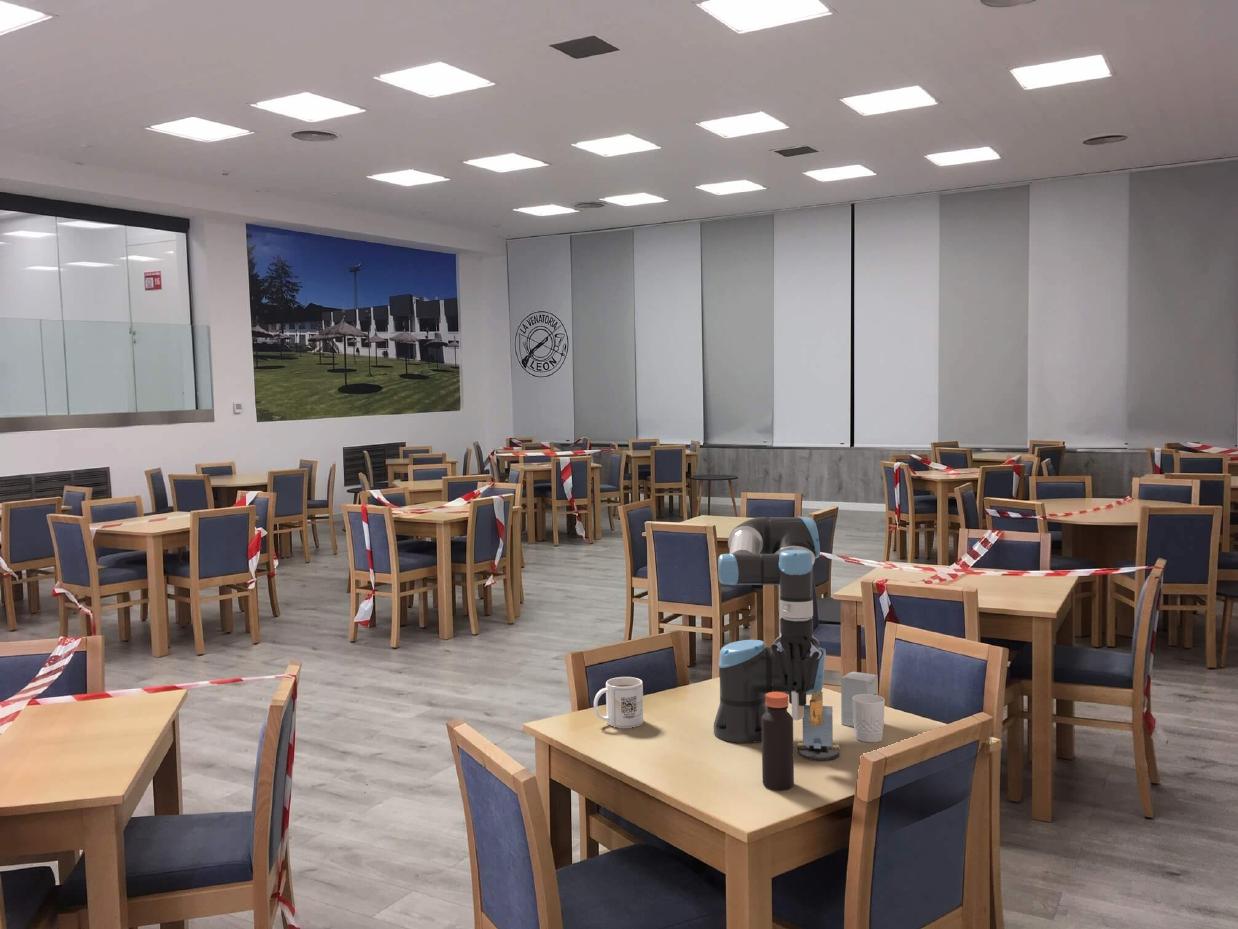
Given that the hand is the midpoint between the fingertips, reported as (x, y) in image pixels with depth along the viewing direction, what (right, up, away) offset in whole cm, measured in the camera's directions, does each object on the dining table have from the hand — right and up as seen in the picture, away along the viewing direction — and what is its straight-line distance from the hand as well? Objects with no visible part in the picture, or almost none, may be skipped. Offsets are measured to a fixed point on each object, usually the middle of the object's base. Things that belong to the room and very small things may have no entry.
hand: (797, 718), depth 215 cm
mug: (-41, -10, +32) cm, 53 cm away
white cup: (+21, -10, +16) cm, 28 cm away
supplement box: (+21, -9, +27) cm, 36 cm away
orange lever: (+5, -7, +3) cm, 10 cm away
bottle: (-7, -12, -12) cm, 18 cm away
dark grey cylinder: (+6, -10, +7) cm, 14 cm away
